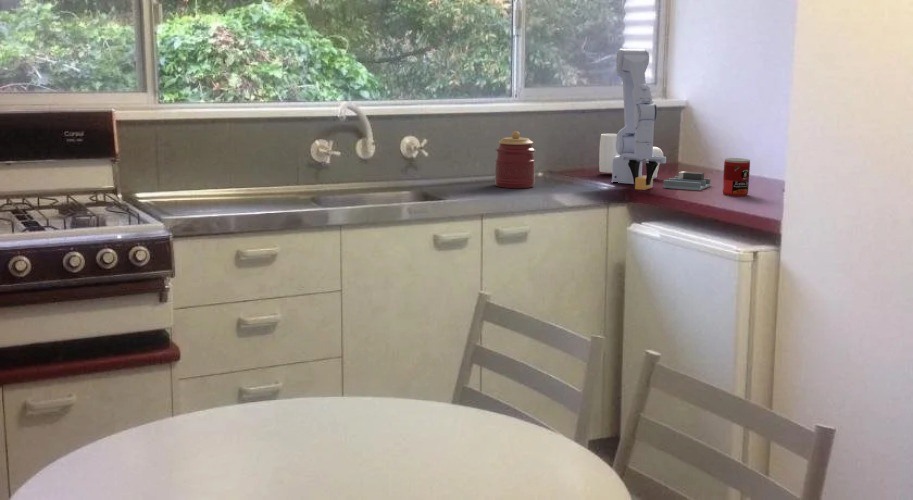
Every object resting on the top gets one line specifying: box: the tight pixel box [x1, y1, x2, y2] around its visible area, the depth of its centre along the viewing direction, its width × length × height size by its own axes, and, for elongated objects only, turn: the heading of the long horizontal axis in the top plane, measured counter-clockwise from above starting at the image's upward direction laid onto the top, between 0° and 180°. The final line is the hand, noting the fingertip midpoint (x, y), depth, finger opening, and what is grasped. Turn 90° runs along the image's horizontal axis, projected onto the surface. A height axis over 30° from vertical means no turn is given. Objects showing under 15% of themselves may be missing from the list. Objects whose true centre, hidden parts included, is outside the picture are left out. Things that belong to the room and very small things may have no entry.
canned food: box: [722, 157, 751, 197], centre depth 336 cm, size 8×8×11 cm
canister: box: [494, 130, 537, 189], centre depth 348 cm, size 13×13×18 cm
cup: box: [598, 133, 620, 174], centre depth 381 cm, size 8×8×14 cm
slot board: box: [662, 175, 712, 191], centre depth 353 cm, size 12×12×2 cm
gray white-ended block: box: [678, 170, 705, 181], centre depth 355 cm, size 8×3×4 cm, turn 62°
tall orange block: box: [634, 174, 654, 191], centre depth 348 cm, size 8×3×4 cm, turn 152°
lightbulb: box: [645, 146, 664, 180], centre depth 372 cm, size 6×6×11 cm
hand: (642, 184), depth 347 cm, fingers closed on tall orange block, 3 cm apart
